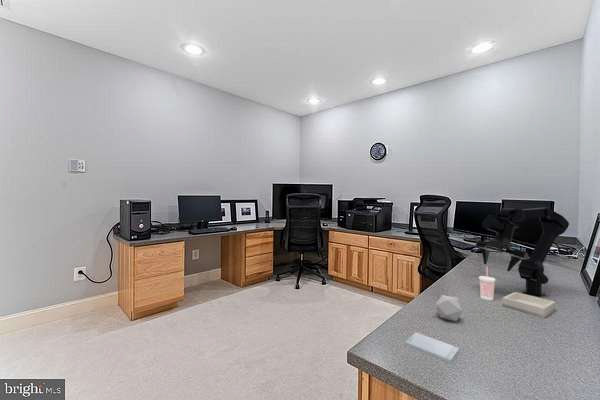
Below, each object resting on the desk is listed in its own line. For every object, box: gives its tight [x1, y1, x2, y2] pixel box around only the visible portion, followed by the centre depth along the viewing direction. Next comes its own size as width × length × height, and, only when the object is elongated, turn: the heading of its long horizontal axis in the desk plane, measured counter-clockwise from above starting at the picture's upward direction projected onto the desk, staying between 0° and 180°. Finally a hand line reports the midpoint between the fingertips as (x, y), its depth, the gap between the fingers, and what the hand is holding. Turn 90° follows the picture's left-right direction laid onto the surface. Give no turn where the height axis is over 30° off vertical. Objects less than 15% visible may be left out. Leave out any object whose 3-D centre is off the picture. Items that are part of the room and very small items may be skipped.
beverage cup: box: [478, 266, 496, 301], centre depth 117 cm, size 6×6×14 cm
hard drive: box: [405, 332, 461, 364], centre depth 77 cm, size 2×8×12 cm
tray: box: [502, 291, 556, 319], centre depth 106 cm, size 13×13×4 cm
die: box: [435, 294, 463, 322], centre depth 96 cm, size 8×9×10 cm
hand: (496, 267), depth 120 cm, fingers open, 9 cm apart
